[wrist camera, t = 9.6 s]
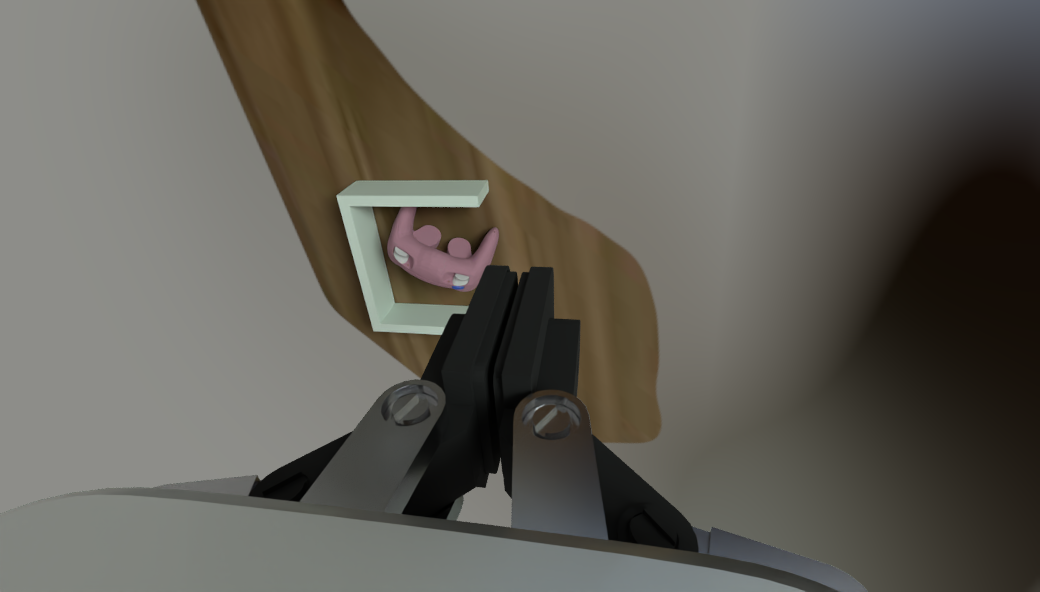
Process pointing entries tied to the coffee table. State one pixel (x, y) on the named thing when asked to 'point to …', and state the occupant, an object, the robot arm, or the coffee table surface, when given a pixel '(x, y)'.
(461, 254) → the video game controller
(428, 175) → the coffee table surface
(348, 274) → the coffee table surface
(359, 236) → the box
